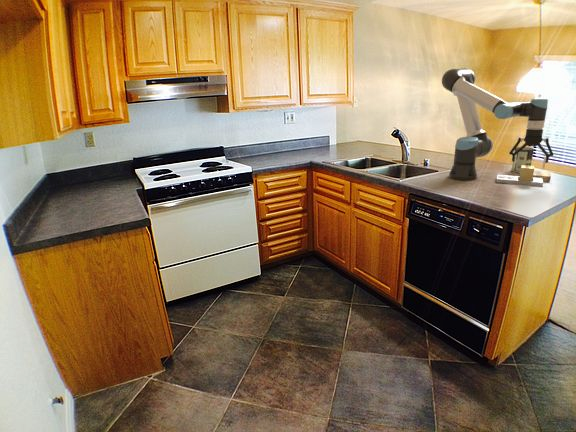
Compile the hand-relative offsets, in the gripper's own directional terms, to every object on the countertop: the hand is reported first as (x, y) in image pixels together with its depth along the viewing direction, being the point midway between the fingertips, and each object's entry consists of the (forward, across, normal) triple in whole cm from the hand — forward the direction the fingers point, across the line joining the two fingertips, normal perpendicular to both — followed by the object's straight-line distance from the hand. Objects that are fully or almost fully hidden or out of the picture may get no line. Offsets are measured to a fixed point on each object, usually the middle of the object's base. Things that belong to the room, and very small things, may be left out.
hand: (528, 168), depth 205 cm
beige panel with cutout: (+8, -4, +1) cm, 9 cm away
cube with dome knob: (+8, 0, 0) cm, 8 cm away
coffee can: (+8, -2, +30) cm, 31 cm away
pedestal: (+8, +6, +13) cm, 17 cm away
